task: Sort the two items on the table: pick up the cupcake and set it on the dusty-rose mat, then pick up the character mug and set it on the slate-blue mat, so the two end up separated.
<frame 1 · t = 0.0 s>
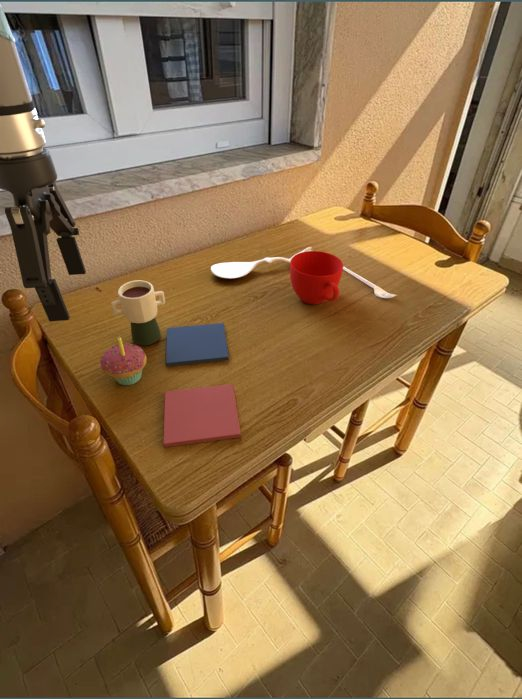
hand: (69, 294, 61), 21 cm above the table, tool pointing down, fingers open, 13 cm apart
blue mat: (197, 345, 84), on the table
spoon: (265, 270, 110), on the table
ceramic cup: (316, 302, 98), on the table
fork: (366, 285, 105), on the table
character mug: (147, 339, 86), on the table
cupcake: (128, 377, 77), on the table
rose mat: (201, 415, 69), on the table
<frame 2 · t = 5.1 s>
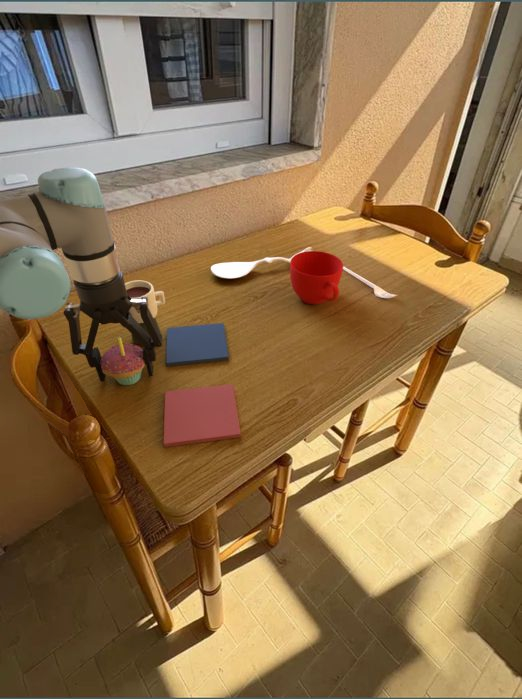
hand: (127, 374, 76), 1 cm above the table, tool pointing down, fingers closed on cupcake, 8 cm apart
cupcake: (128, 377, 77), on the table, touching gripper
everything else where it was.
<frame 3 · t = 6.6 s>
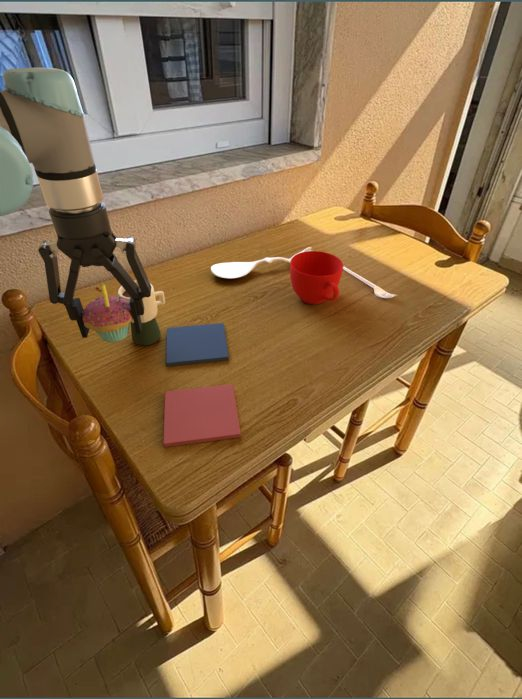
hand: (113, 330, 68), 12 cm above the table, tool pointing down, fingers closed on cupcake, 8 cm apart
cupcake: (114, 335, 69), point 11 cm above the table, touching gripper
everything else where it was.
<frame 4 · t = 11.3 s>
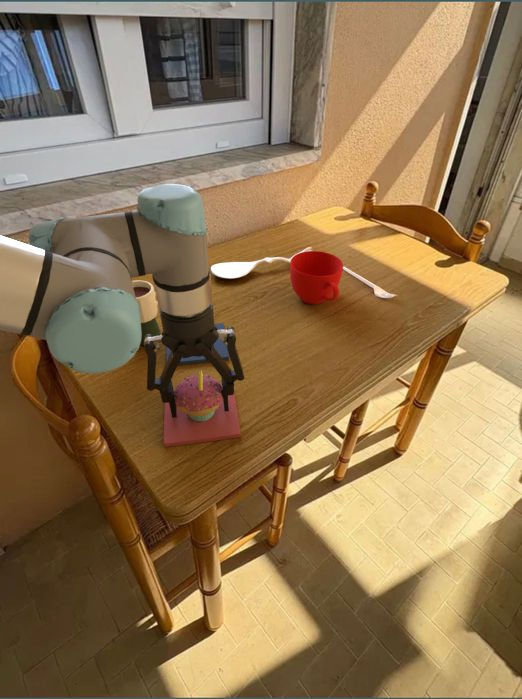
hand: (200, 408, 68), 2 cm above the table, tool pointing down, fingers closed on cupcake, 8 cm apart
cupcake: (201, 412, 69), point 1 cm above the table, touching gripper, rose mat
everything else where it was.
when the fingers open (2 cm above the table, at t = 11.7 s): cupcake stays where it is, resting on rose mat.
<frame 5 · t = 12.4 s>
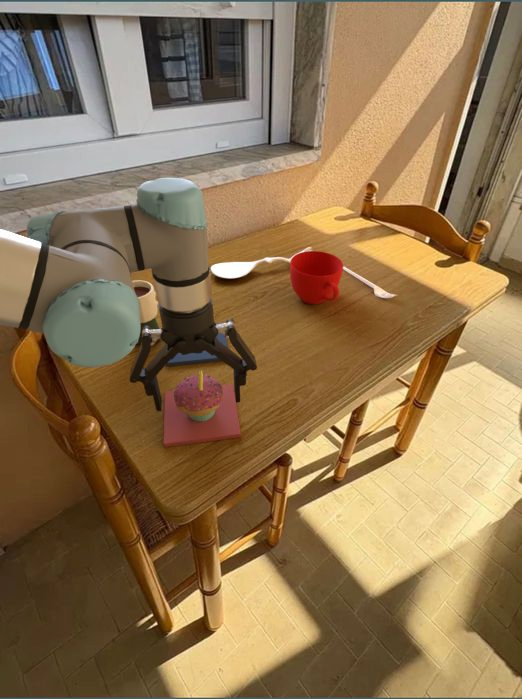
hand: (198, 401, 67), 4 cm above the table, tool pointing down, fingers open, 13 cm apart
cupcake: (201, 412, 69), point 1 cm above the table, touching rose mat
everything else where it was.
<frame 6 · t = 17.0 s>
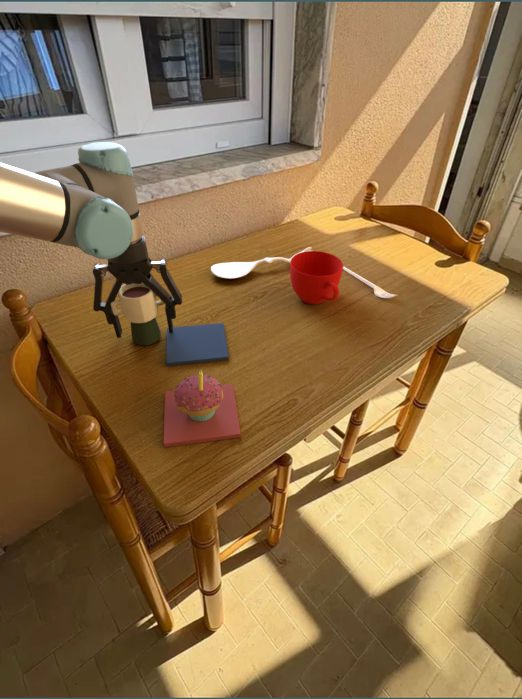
hand: (145, 331, 85), 2 cm above the table, tool pointing down, fingers closed on character mug, 10 cm apart
character mug: (147, 339, 86), on the table, touching gripper
everything else where it was.
when the fingers open (3 cm above the table, at t = 23.4 s): character mug stays where it is, resting on blue mat.
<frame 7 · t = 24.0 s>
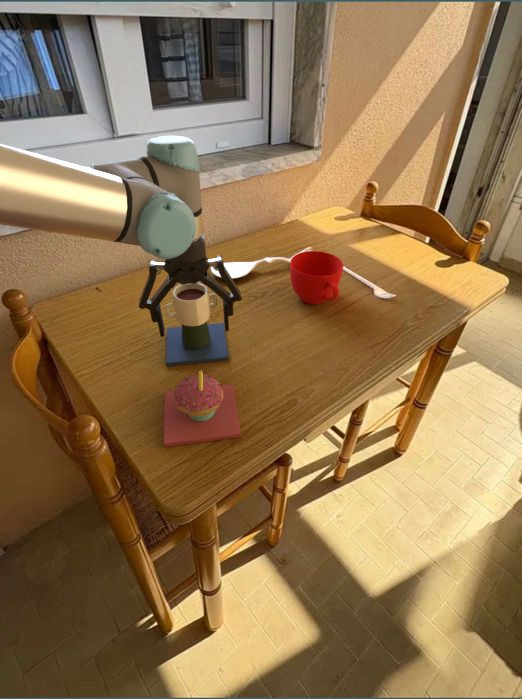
hand: (194, 330, 82), 4 cm above the table, tool pointing down, fingers open, 13 cm apart
character mug: (196, 342, 84), point 1 cm above the table, touching blue mat
everything else where it was.
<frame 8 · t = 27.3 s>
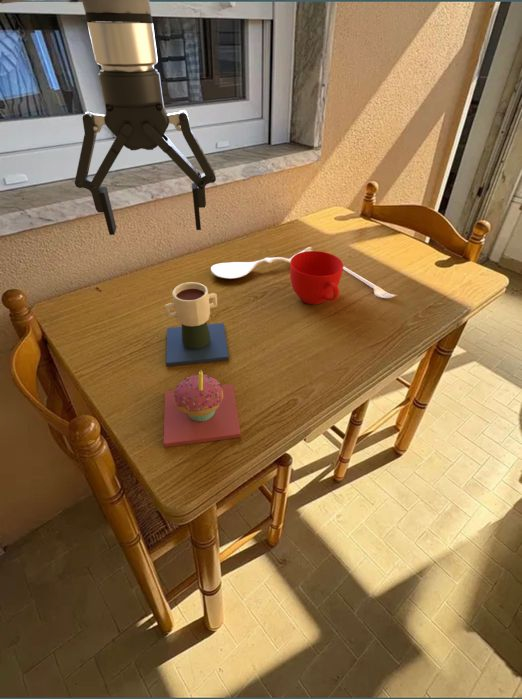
hand: (156, 229, 62), 29 cm above the table, tool pointing down, fingers open, 13 cm apart
nothing on the table moved.
at the end: cupcake inside the target area on the rose mat (0.0 cm from its centre), point 0.8 cm above the rose mat's base; character mug inside the target area on the blue mat (0.0 cm from its centre), point 0.8 cm above the blue mat's base; character mug tilted 0° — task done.
